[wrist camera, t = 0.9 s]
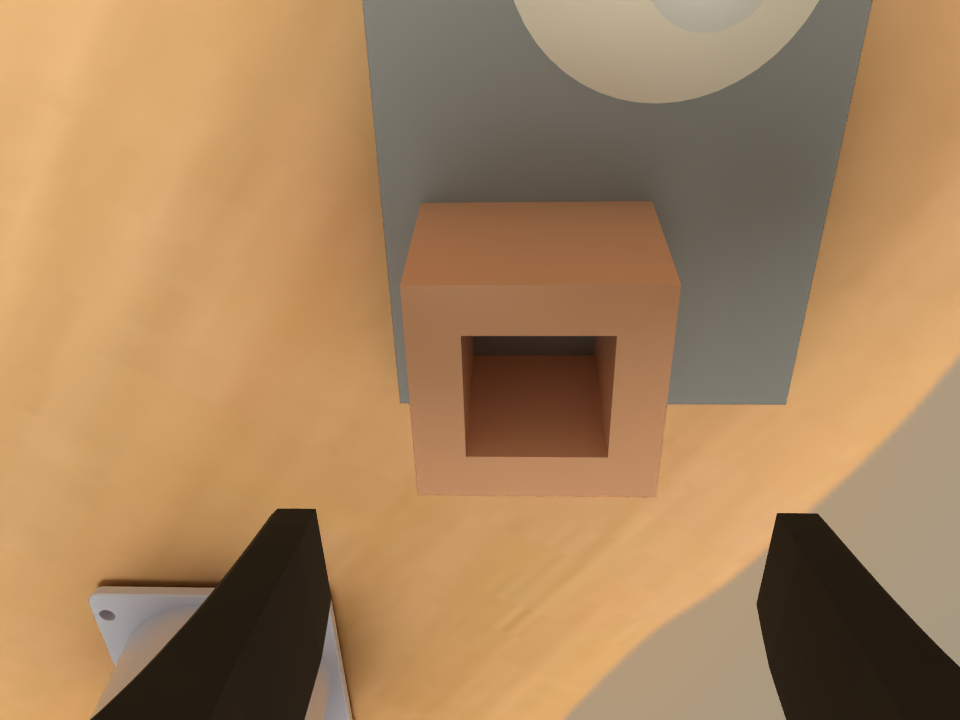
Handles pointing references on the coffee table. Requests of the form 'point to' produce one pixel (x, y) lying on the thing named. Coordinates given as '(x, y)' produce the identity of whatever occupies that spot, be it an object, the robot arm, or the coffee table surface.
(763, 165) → the post board
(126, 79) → the coffee table surface
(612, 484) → the tan square tube block
